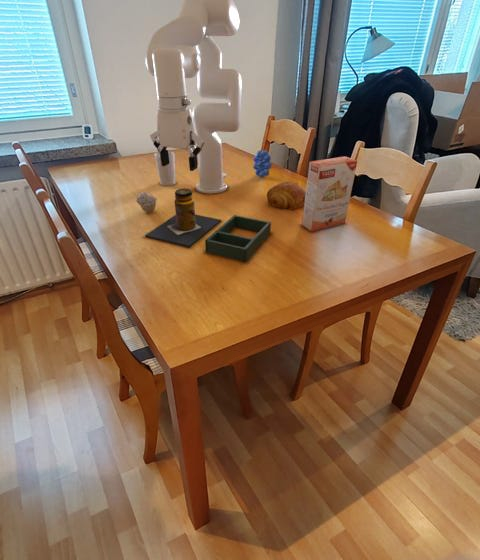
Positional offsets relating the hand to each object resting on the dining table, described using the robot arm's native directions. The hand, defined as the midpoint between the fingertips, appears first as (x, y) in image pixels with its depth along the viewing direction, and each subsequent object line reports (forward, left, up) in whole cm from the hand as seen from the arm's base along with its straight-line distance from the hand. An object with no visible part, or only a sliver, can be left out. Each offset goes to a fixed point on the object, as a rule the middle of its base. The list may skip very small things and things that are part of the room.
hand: (179, 167), depth 104 cm
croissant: (-34, +23, -20) cm, 46 cm away
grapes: (-57, +4, -20) cm, 60 cm away
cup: (-33, -30, -20) cm, 48 cm away
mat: (+1, 0, -20) cm, 20 cm away
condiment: (+1, 0, -19) cm, 19 cm away
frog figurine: (-5, -19, -20) cm, 28 cm away
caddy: (+2, +20, -20) cm, 28 cm away
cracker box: (-21, +40, -20) cm, 50 cm away
